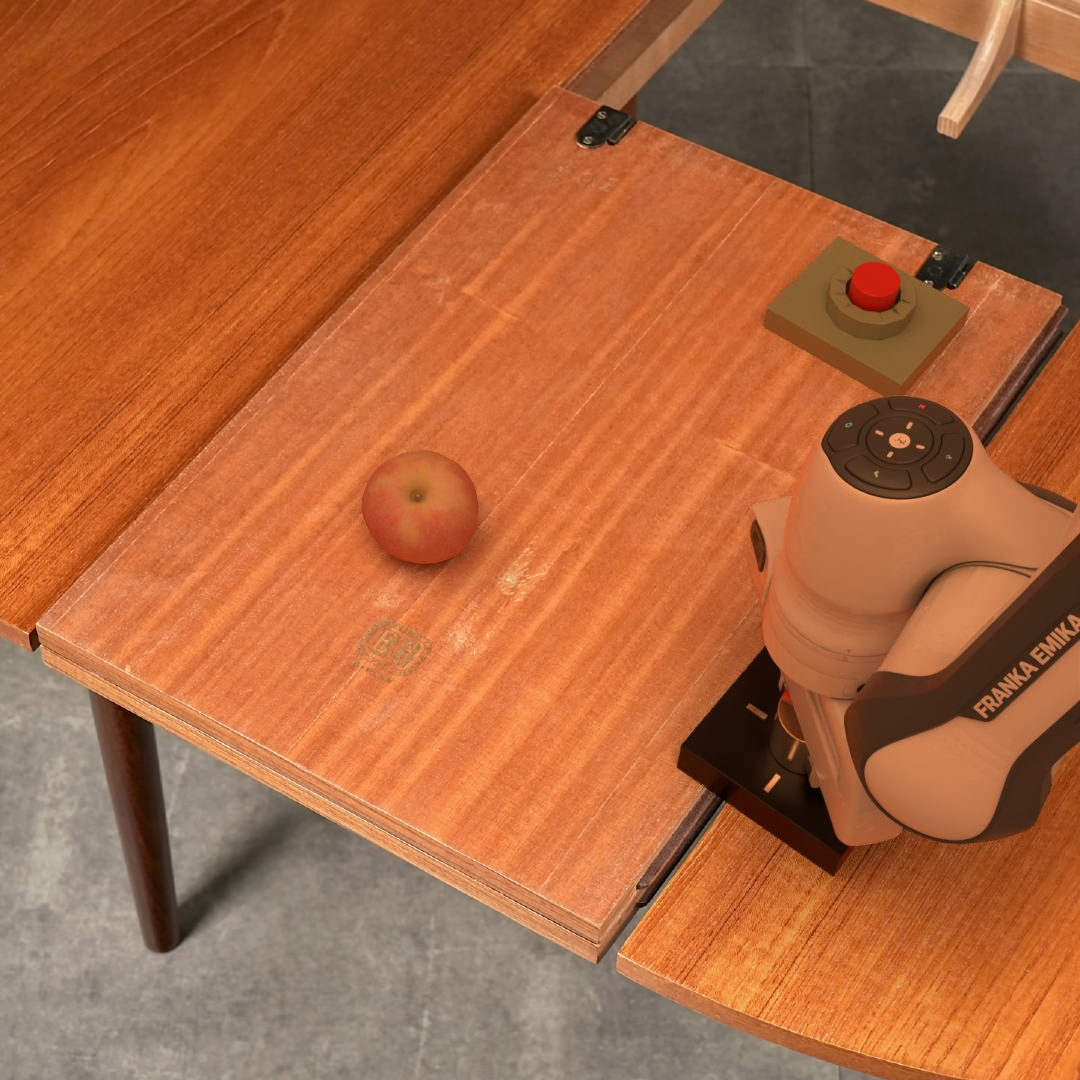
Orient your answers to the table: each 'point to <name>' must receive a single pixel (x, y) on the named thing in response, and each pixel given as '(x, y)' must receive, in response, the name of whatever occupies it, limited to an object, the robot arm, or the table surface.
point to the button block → (865, 322)
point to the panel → (760, 767)
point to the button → (874, 286)
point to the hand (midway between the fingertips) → (806, 735)
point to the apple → (421, 507)
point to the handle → (788, 737)
